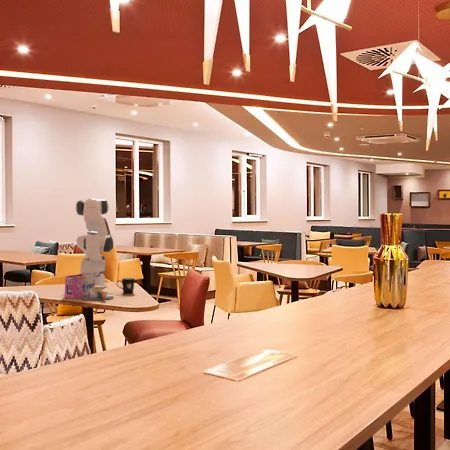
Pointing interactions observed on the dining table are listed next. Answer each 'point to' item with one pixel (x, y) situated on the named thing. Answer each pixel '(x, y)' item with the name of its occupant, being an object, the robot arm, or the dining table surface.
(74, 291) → the gum box
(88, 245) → the robot arm
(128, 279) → the coffee mug
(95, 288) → the cap housing
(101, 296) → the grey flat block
